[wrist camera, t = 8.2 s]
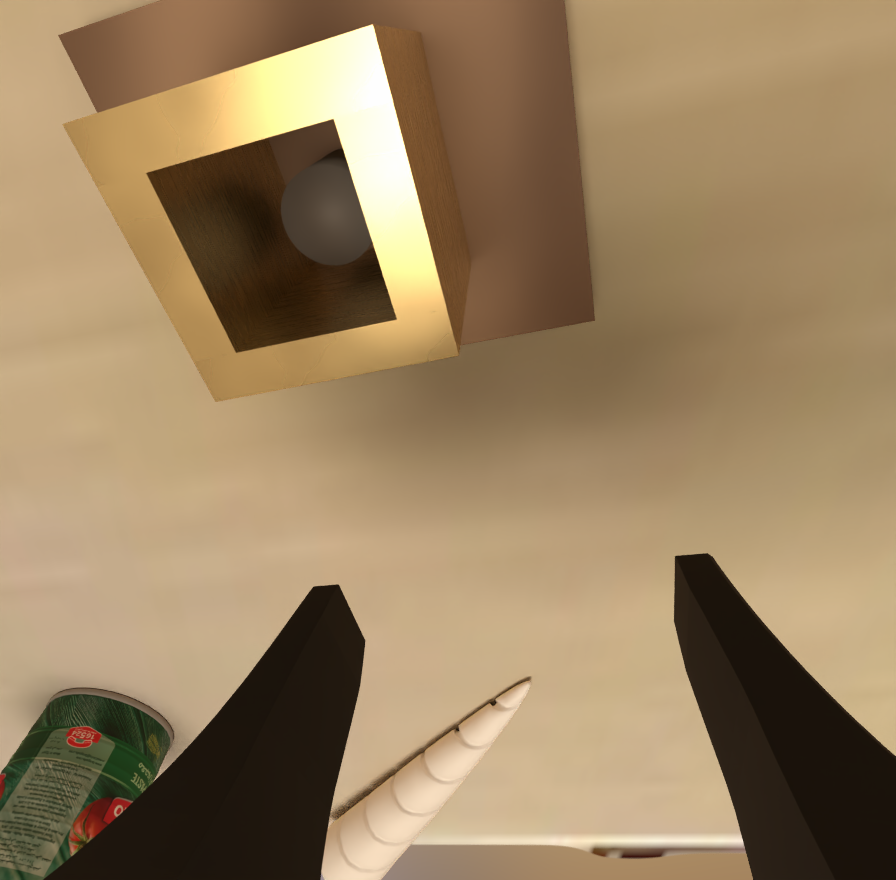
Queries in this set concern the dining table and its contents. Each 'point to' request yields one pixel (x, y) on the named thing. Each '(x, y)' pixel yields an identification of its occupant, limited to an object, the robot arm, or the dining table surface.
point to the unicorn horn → (412, 796)
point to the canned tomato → (75, 777)
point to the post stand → (461, 115)
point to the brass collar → (260, 222)
